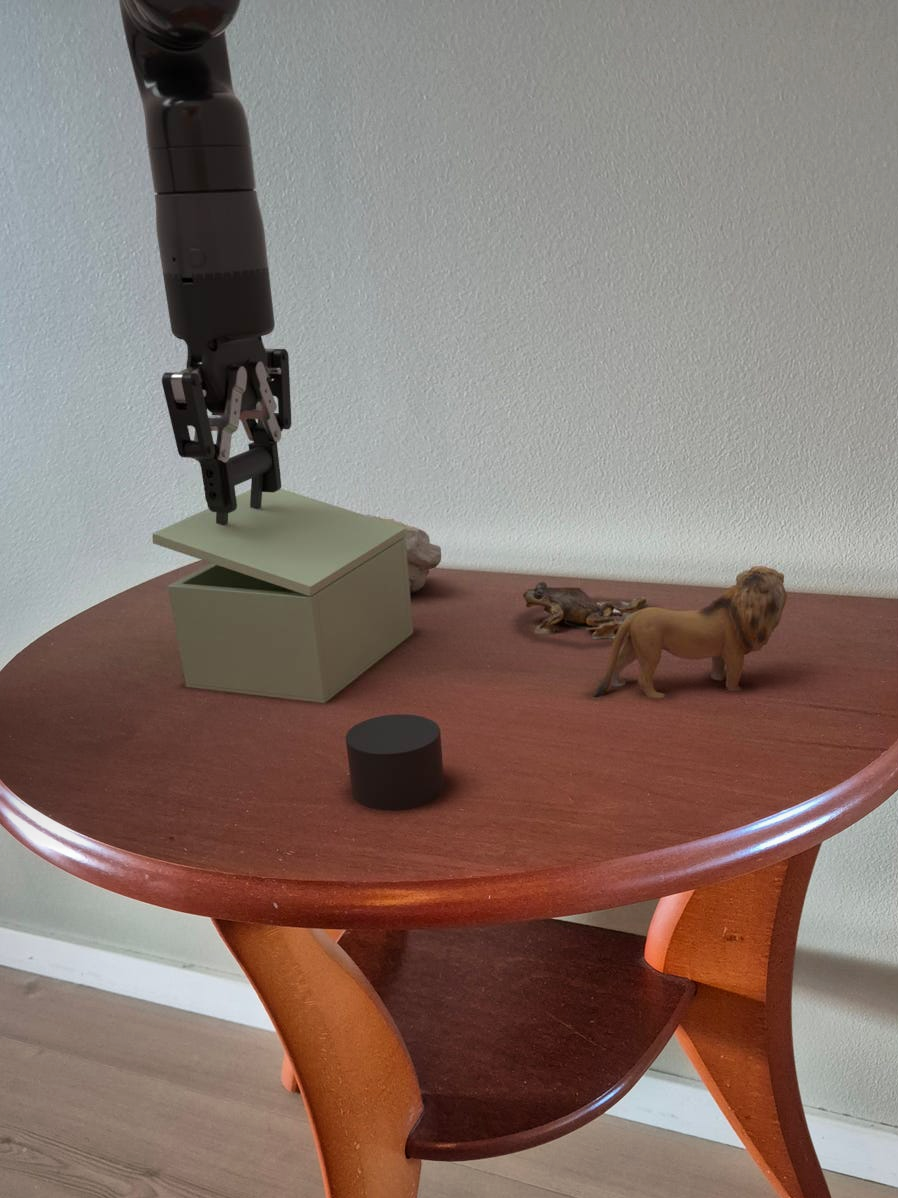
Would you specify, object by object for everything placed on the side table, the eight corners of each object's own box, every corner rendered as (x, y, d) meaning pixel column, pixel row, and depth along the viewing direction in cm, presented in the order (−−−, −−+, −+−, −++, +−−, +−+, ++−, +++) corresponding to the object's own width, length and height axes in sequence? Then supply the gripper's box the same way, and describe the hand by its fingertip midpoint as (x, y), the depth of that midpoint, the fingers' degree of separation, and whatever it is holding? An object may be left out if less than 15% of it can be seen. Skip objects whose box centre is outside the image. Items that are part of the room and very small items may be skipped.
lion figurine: (763, 668, 93) (772, 554, 88) (792, 692, 88) (802, 574, 84) (583, 691, 91) (582, 576, 86) (603, 717, 86) (603, 597, 82)
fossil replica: (357, 574, 121) (309, 613, 113) (339, 494, 116) (288, 529, 109) (464, 573, 116) (421, 614, 108) (449, 489, 111) (404, 525, 104)
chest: (187, 693, 94) (166, 585, 90) (288, 626, 107) (275, 529, 103) (325, 709, 90) (311, 597, 86) (414, 638, 103) (405, 537, 98)
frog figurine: (509, 652, 99) (507, 608, 97) (529, 605, 109) (528, 565, 107) (647, 654, 97) (648, 609, 95) (655, 606, 107) (656, 565, 105)
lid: (152, 543, 89) (152, 469, 85) (263, 492, 101) (268, 426, 98) (310, 596, 86) (316, 522, 82) (404, 537, 98) (413, 470, 95)
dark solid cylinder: (336, 810, 76) (328, 747, 73) (378, 771, 80) (371, 709, 78) (421, 823, 73) (416, 758, 71) (459, 782, 78) (455, 719, 76)
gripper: (225, 257, 92) (253, 478, 100) (109, 273, 80) (152, 521, 89) (309, 256, 89) (331, 483, 98) (203, 272, 78) (238, 527, 86)
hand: (246, 500), depth 93 cm, fingers closed on lid, 6 cm apart
